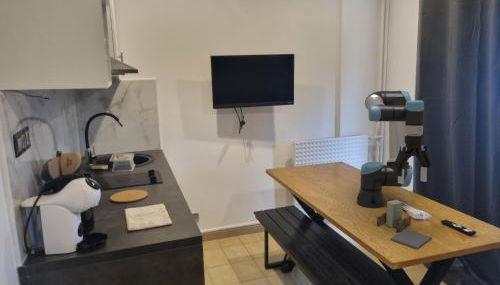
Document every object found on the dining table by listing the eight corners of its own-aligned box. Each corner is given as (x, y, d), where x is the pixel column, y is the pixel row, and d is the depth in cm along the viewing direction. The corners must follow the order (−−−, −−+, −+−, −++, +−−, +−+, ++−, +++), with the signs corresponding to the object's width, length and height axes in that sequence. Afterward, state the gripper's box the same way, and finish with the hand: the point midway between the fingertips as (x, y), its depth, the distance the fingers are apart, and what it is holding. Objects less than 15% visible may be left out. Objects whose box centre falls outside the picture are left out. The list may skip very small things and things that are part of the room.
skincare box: (395, 222, 188) (396, 199, 185) (402, 226, 184) (403, 202, 181) (385, 224, 185) (386, 201, 183) (391, 228, 181) (393, 204, 179)
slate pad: (405, 230, 178) (405, 228, 178) (431, 239, 169) (431, 237, 169) (390, 240, 169) (390, 238, 169) (417, 249, 160) (417, 247, 160)
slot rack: (389, 218, 192) (389, 210, 191) (410, 225, 184) (411, 216, 183) (376, 225, 185) (377, 216, 184) (398, 232, 176) (398, 223, 176)
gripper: (398, 136, 161) (397, 185, 162) (441, 135, 171) (439, 181, 172) (385, 135, 168) (384, 182, 169) (427, 134, 178) (425, 179, 179)
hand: (412, 182), depth 171 cm, fingers open, 13 cm apart
